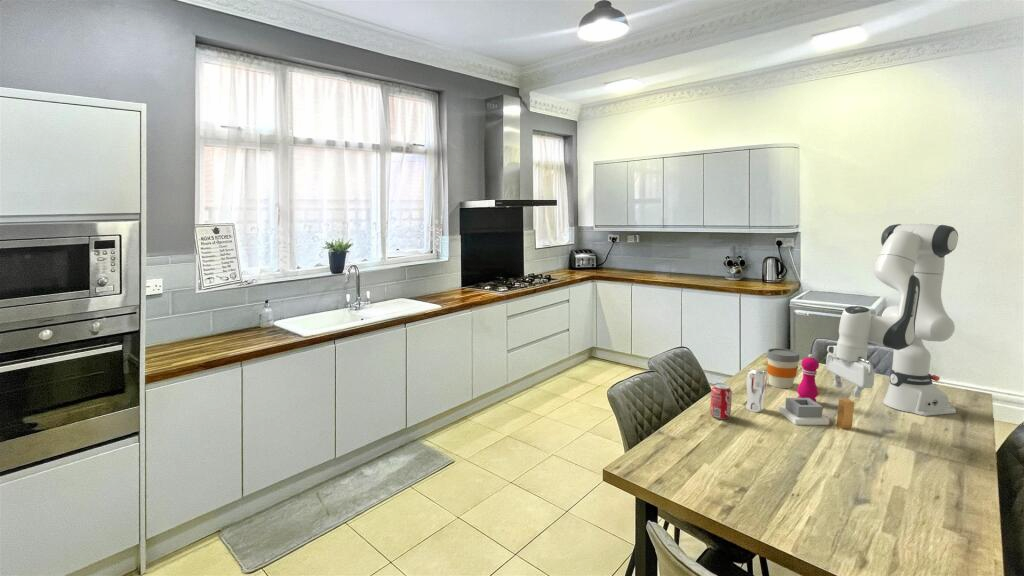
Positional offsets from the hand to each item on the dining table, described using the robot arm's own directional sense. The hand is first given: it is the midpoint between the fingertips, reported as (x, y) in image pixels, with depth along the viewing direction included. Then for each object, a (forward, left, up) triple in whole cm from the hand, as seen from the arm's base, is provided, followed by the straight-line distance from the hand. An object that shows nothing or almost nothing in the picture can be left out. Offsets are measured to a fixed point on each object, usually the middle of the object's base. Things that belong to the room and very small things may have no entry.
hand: (846, 391), depth 171 cm
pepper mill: (0, -23, -14) cm, 27 cm away
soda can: (+40, -9, -14) cm, 43 cm away
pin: (0, 0, -13) cm, 13 cm away
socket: (+10, -8, -13) cm, 18 cm away
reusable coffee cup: (0, -43, -14) cm, 45 cm away
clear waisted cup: (+24, -16, -14) cm, 32 cm away
